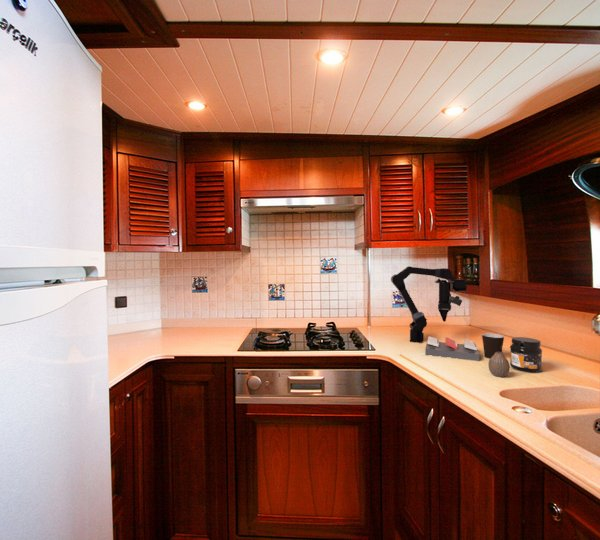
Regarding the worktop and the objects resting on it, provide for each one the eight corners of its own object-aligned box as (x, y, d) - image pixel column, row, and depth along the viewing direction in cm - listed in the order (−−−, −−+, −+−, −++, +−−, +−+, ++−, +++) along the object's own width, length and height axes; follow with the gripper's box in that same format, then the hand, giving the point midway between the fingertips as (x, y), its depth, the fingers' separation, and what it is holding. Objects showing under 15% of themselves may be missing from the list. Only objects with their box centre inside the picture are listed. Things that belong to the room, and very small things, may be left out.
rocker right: (464, 347, 144) (465, 344, 144) (463, 341, 154) (463, 339, 154) (476, 350, 142) (477, 347, 142) (474, 344, 152) (475, 342, 152)
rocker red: (445, 344, 148) (446, 341, 147) (445, 339, 158) (446, 336, 157) (456, 349, 146) (457, 347, 145) (455, 343, 156) (456, 341, 155)
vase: (484, 372, 124) (484, 350, 123) (500, 372, 124) (501, 349, 124) (496, 379, 117) (496, 355, 117) (514, 378, 117) (514, 355, 117)
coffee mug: (496, 361, 138) (496, 338, 137) (477, 356, 145) (477, 334, 145) (511, 357, 143) (512, 335, 143) (492, 352, 151) (493, 332, 150)
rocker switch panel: (425, 355, 147) (425, 348, 147) (427, 346, 162) (427, 340, 162) (479, 361, 138) (479, 353, 138) (475, 351, 153) (476, 345, 152)
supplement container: (509, 370, 126) (510, 340, 126) (510, 363, 135) (510, 335, 135) (542, 375, 120) (543, 344, 120) (540, 367, 129) (541, 338, 129)
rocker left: (427, 343, 151) (427, 340, 151) (428, 338, 161) (428, 336, 161) (438, 346, 149) (438, 344, 149) (438, 341, 159) (439, 339, 159)
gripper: (462, 293, 159) (461, 324, 159) (460, 290, 176) (460, 318, 176) (438, 292, 163) (437, 322, 164) (438, 289, 180) (438, 317, 181)
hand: (444, 320), depth 171 cm, fingers open, 9 cm apart
